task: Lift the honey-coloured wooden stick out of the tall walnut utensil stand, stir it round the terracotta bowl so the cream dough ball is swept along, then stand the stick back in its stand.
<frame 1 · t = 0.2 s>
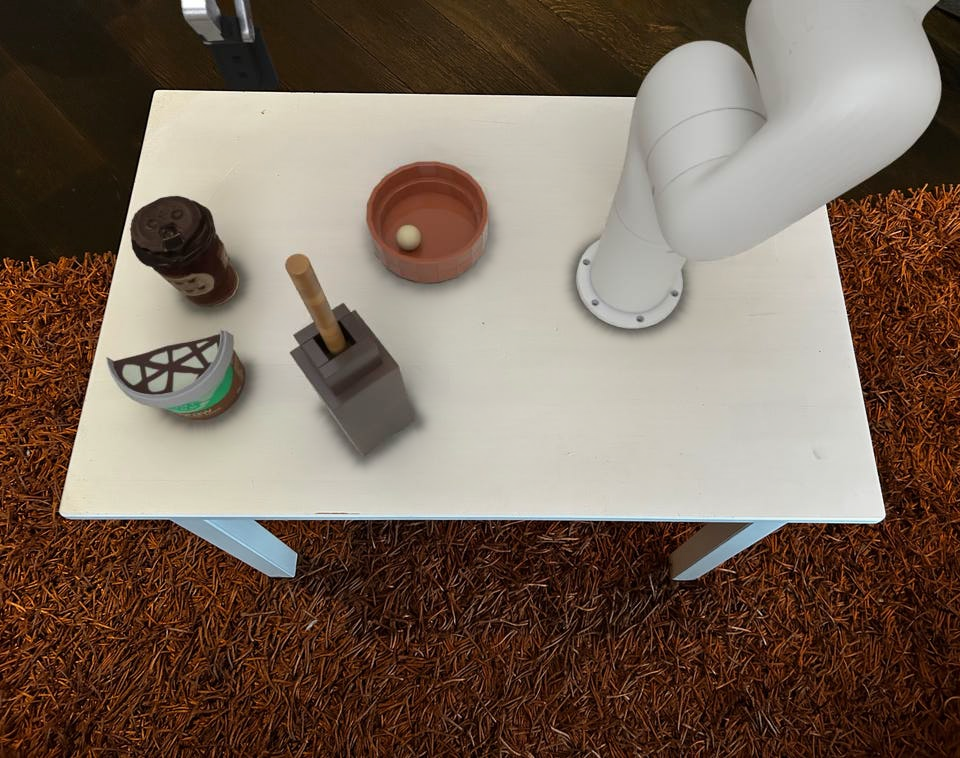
hand: (260, 28, 43), 37 cm above the table, tool pointing down, fingers open, 9 cm apart
coffee cup: (213, 286, 78), on the table
holder: (371, 414, 72), on the table
stick: (343, 358, 57), point 16 cm above the table, touching holder
bowl: (430, 234, 81), on the table
food container: (207, 403, 73), on the table
dough ball: (408, 237, 78), point 2 cm above the table, touching bowl
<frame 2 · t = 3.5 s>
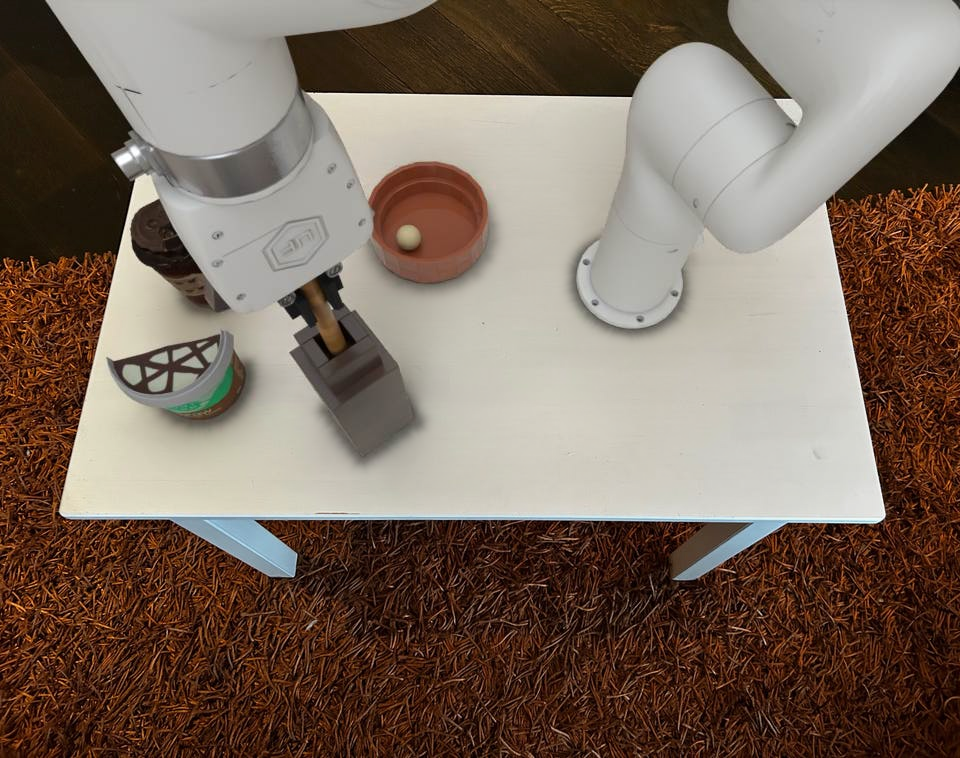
hand: (316, 302, 48), 27 cm above the table, tool pointing down, fingers closed on stick, 1 cm apart
stick: (343, 358, 57), point 16 cm above the table, touching gripper, holder
everything else where it was.
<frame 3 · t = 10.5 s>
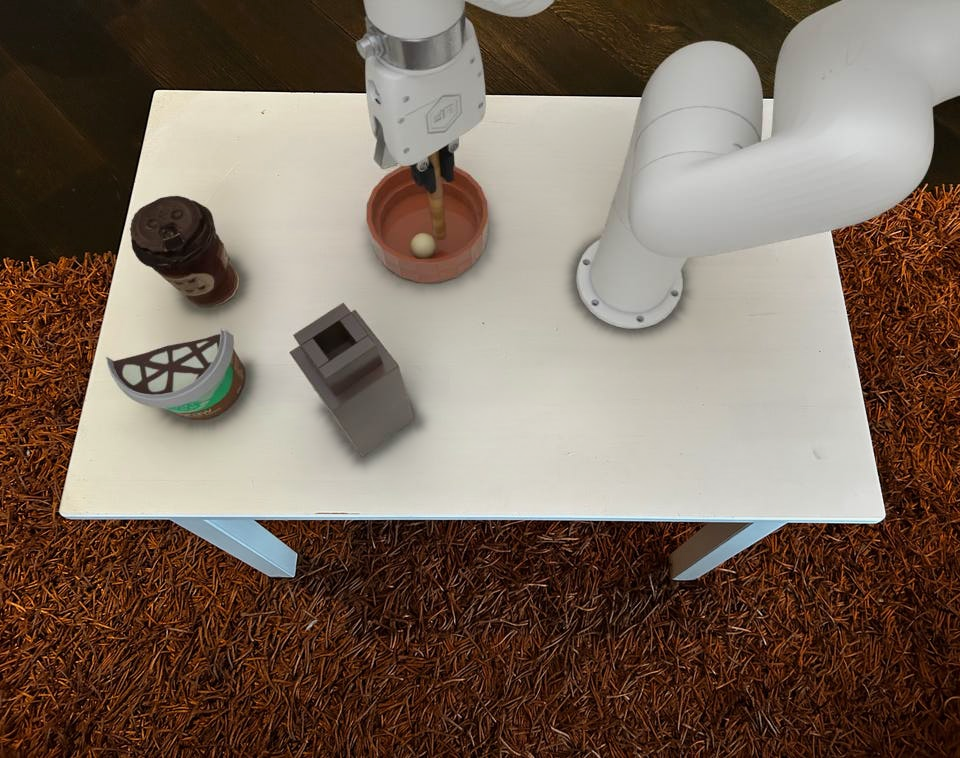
hand: (434, 177, 67), 13 cm above the table, tool pointing down, fingers closed on stick, 1 cm apart
stick: (439, 234, 77), point 3 cm above the table, touching gripper
dough ball: (423, 245, 78), point 2 cm above the table, tilted 76°, touching bowl
everything else where it was.
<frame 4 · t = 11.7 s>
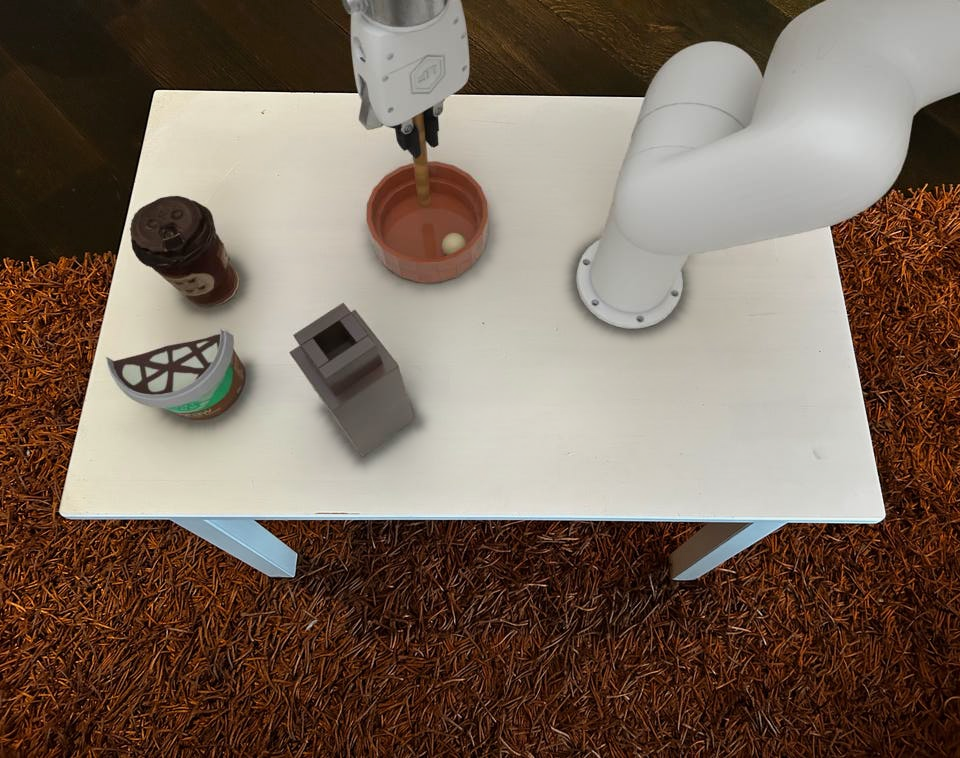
hand: (418, 142, 69), 14 cm above the table, tool pointing down, fingers closed on stick, 1 cm apart
stick: (424, 202, 78), point 3 cm above the table, touching gripper
dough ball: (454, 245, 78), point 2 cm above the table, tilted 126°, touching bowl
everything else where it was.
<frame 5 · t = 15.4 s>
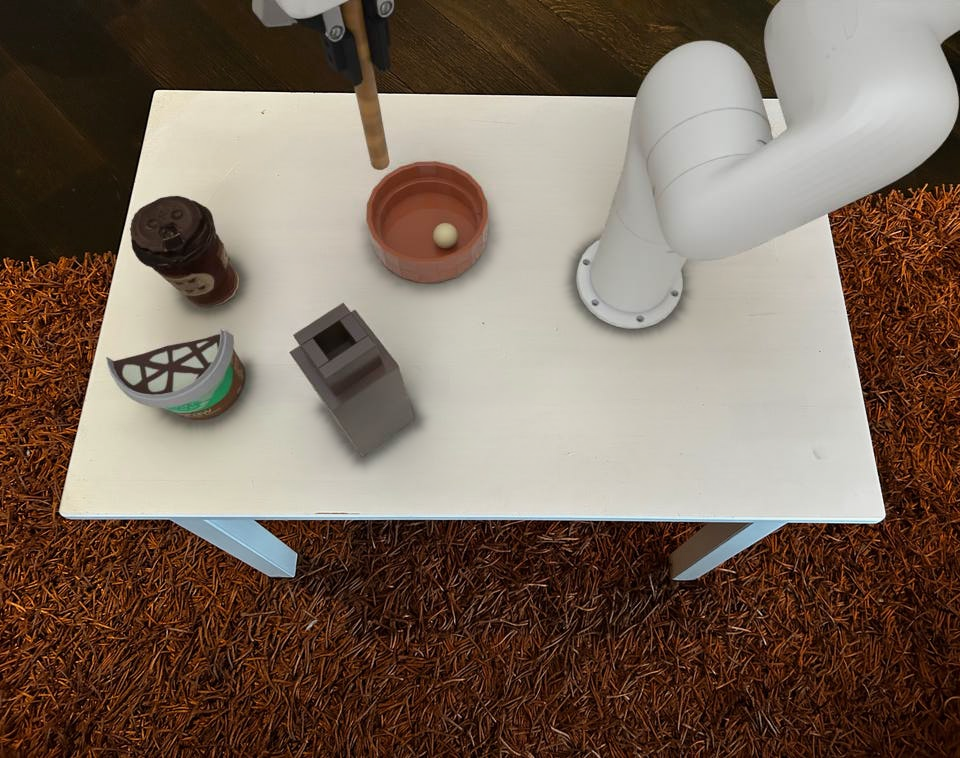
hand: (361, 64, 46), 34 cm above the table, tool pointing down, fingers closed on stick, 1 cm apart
stick: (380, 162, 56), point 24 cm above the table, touching gripper
dough ball: (445, 235, 78), point 2 cm above the table, tilted 86°, touching bowl
everything else where it was.
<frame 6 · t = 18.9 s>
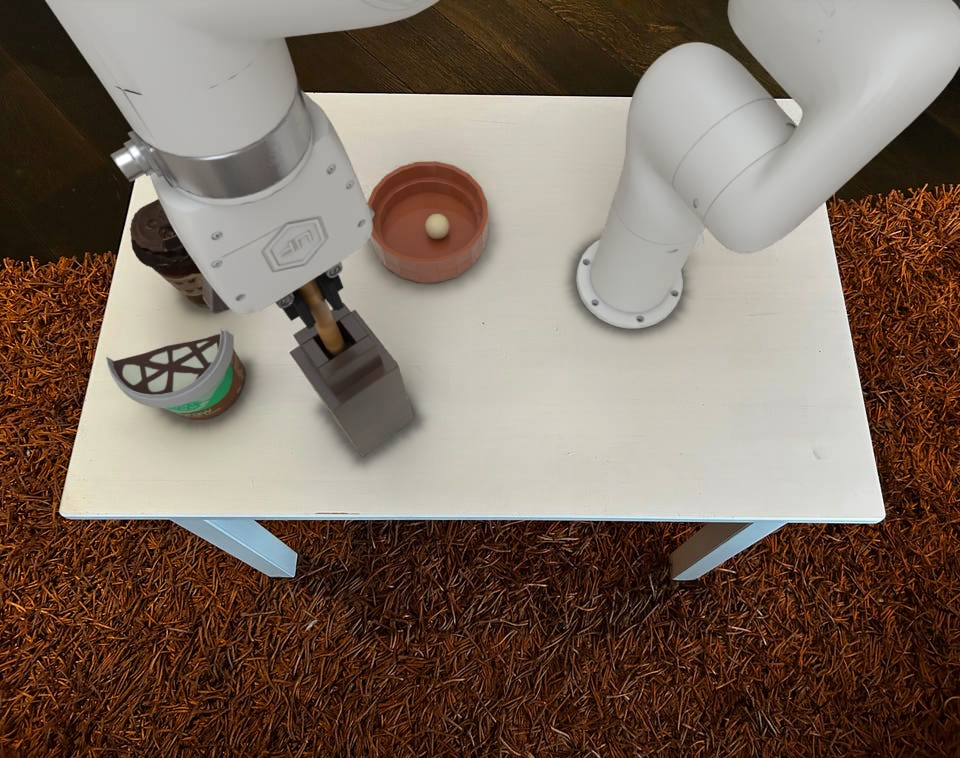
hand: (315, 303, 48), 26 cm above the table, tool pointing down, fingers closed on stick
stick: (341, 357, 57), point 16 cm above the table, touching gripper, holder
dough ball: (437, 226, 79), point 2 cm above the table, tilted 51°, touching bowl
everything else where it was.
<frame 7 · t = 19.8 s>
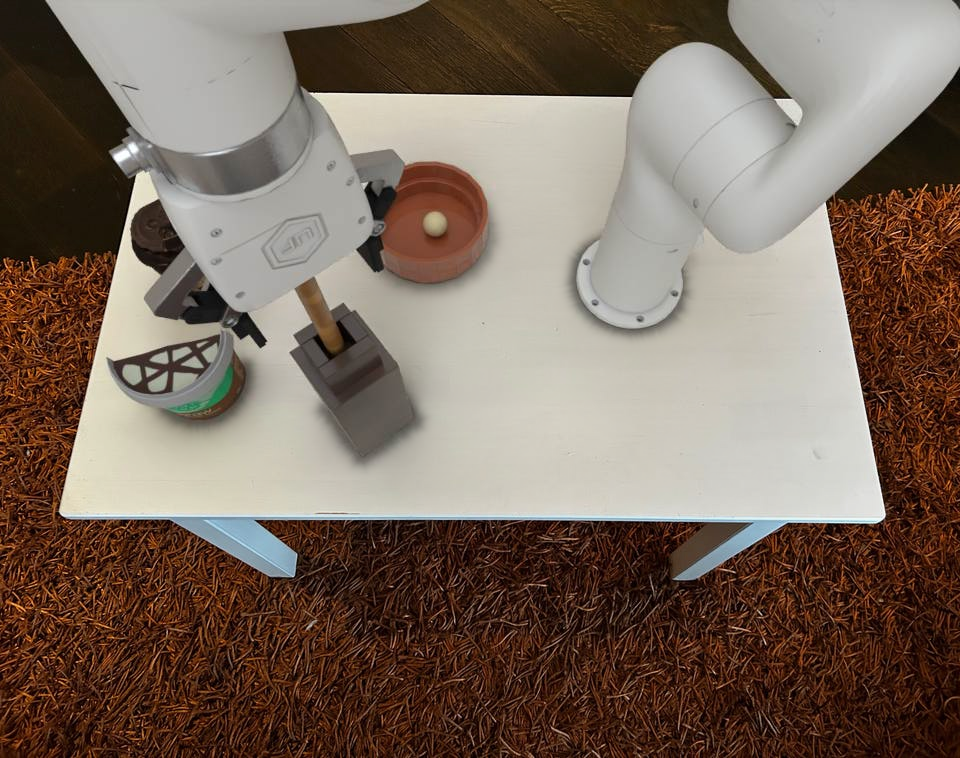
hand: (312, 293, 46), 28 cm above the table, tool pointing down, fingers open, 9 cm apart
stick: (341, 357, 57), point 16 cm above the table, touching holder
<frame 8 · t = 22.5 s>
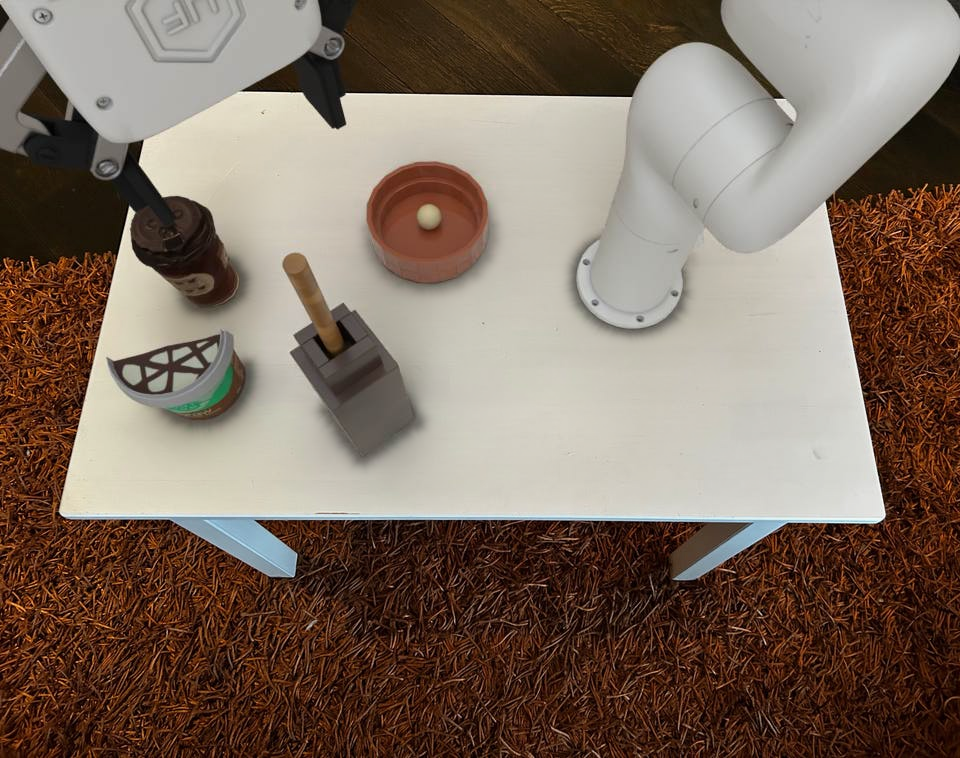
hand: (244, 156, 33), 42 cm above the table, tool pointing down, fingers open, 9 cm apart
dough ball: (429, 217, 79), point 2 cm above the table, tilted 62°, touching bowl
everything else where it was.
at the end: dough ball moved 3.8 cm from its start; dough ball inside the target area in the bowl (1.1 cm from its centre), point 2.1 cm above the bowl's base; stick 0.2 cm off-centre on the holder, point 16.0 cm above the holder's base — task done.
